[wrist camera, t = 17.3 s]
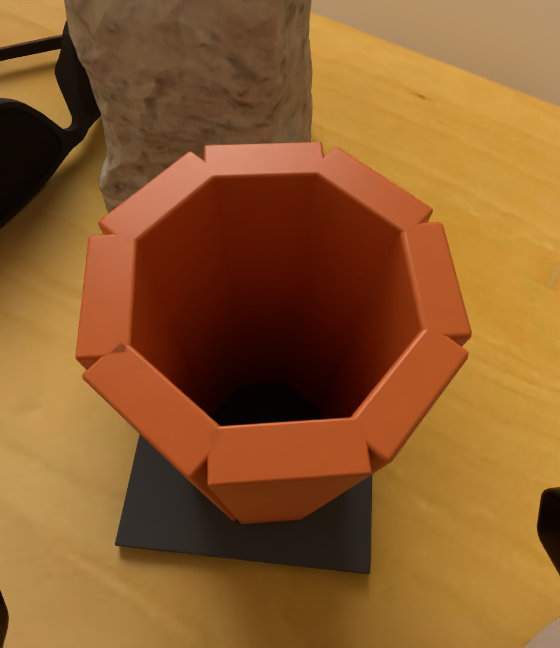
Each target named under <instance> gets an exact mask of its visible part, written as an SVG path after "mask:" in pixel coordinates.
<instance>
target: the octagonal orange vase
mask: <svg viewBox="0 0 560 648" xmlns="http://www.w3.org/2000/svg"><path fill="white" fill-rule="evenodd" d="M432 212H433V209H432V208H431V207H429V206H428V205H426V204H425V203H423V202H422V201H420V200H419V199H417V198H415V197H414V196H412V195H411V194H409V193H408V192H406V191H405V190H403V189H402V188H400V187H398V186H397V185H395V184H394V183H392V182H391V181H389V180H388V179H386V178H385V177H383V176H381V175H380V174H378V173H377V172H375V171H374V170H372V169H371V168H369V167H368V166H366V165H364V164H363V163H361V162H360V161H358V160H357V159H355V158H354V157H352V156H351V155H349V154H348V153H346V152H344V151H343V150H341V149H340V148H338V147H334V148H333V149H332V150H331V151H330V152H329V153H328V154H327V155H325V156H324V153H323V146H322V143H321V142H301V143H265V144H229V145H206V146H205V147H204V160H203V159H201V158H200V157H198V156H197V155H196V154H194V153H193V152H191V151H190V152H187V153H186V154H185V155H184V156H182V157H181V158H180V159H178V160H177V161H176V162H174V163H173V164H172V165H171V166H169V167H168V168H167V169H165V170H164V171H163V172H162V173H160V174H159V175H158V176H156V177H155V178H154V179H152V180H151V181H150V182H149V183H147V184H146V185H145V186H143V187H142V188H141V189H140V190H138V191H137V192H136V193H134V194H133V195H132V196H130V197H129V198H128V199H127V200H125V201H124V202H123V203H121V204H120V205H119V206H117V207H116V208H115V209H114V210H112V211H111V212H110V213H108V214H107V215H106V216H105V217H103V218H102V219H101V220H100V221H99V222H98V224H99V227H100V229H101V231H102V233H103V235H91V236H89V239H88V248H87V257H86V266H85V275H84V284H83V293H82V302H81V311H80V320H79V329H78V338H77V347H76V356H75V357H76V360H77V361H78V362H79V363H80V364H81V365H82V366H83V367H84V368H85V369H86V371H85V372H84V373H83V375H82V377H83V379H84V380H85V381H86V382H87V383H88V384H89V385H90V386H91V387H92V388H93V389H94V390H95V391H96V392H97V393H98V394H99V395H100V396H101V397H102V398H103V399H104V400H105V401H106V402H107V403H108V404H109V405H111V406H112V407H113V408H114V409H115V410H116V411H117V412H118V413H119V414H120V415H121V416H122V417H123V418H124V419H125V420H126V421H127V422H128V423H129V424H130V425H131V426H132V427H133V428H134V429H135V430H136V431H137V432H139V433H140V434H141V435H142V436H143V437H144V438H145V439H146V440H147V441H148V442H149V443H150V444H151V445H152V446H153V447H154V448H155V449H156V450H157V451H158V452H159V453H160V454H161V455H162V456H163V457H164V458H165V459H167V460H168V461H169V462H170V463H171V464H172V465H173V466H174V467H175V468H176V469H177V470H178V471H179V472H180V473H181V474H182V475H183V476H184V477H185V478H186V479H187V480H188V481H190V482H191V483H192V484H193V485H194V486H195V487H196V488H197V489H198V490H199V491H201V492H202V493H203V494H204V495H205V496H206V497H207V498H208V499H209V500H210V501H212V502H213V503H214V504H215V505H216V506H217V507H218V508H219V509H220V510H221V511H223V512H224V513H225V514H226V515H227V516H228V517H229V518H230V519H231V520H232V521H235V520H236V519H238V521H239V522H240V523H241V524H253V523H265V522H278V521H290V520H301V519H303V518H304V517H306V516H307V515H309V514H311V513H312V512H314V511H315V510H317V509H319V508H320V507H322V506H323V505H325V504H326V503H328V502H329V501H331V500H333V499H334V498H336V497H337V496H339V495H340V494H342V493H343V492H345V491H347V490H348V489H350V488H351V487H353V486H354V485H356V484H358V483H359V482H361V481H362V480H364V479H365V478H367V477H368V476H370V475H372V474H373V473H375V472H376V471H378V470H379V469H381V468H382V467H384V466H386V465H387V464H389V463H390V462H392V460H393V459H394V458H395V456H396V455H397V454H398V452H399V451H400V450H401V448H402V447H403V445H404V444H405V443H406V441H407V440H408V439H409V437H410V436H411V435H412V433H413V432H414V431H415V429H416V428H417V426H418V425H419V424H420V422H421V421H422V420H423V418H424V417H425V416H426V414H427V413H428V412H429V410H430V409H431V407H432V406H433V405H434V403H435V402H436V401H437V399H438V398H439V397H440V395H441V394H442V393H443V391H444V390H445V388H446V387H447V386H448V384H449V383H450V382H451V380H452V379H453V378H454V376H455V375H456V373H457V372H458V371H459V369H460V368H461V367H462V365H463V364H464V363H465V361H466V360H467V359H468V354H469V353H468V352H467V350H465V349H464V348H463V347H462V346H463V345H464V344H465V343H466V342H467V341H468V340H469V339H470V338H471V328H470V324H469V321H468V317H467V313H466V309H465V306H464V302H463V298H462V294H461V291H460V287H459V283H458V279H457V276H456V272H455V268H454V264H453V261H452V257H451V253H450V249H449V246H448V242H447V238H446V234H445V231H444V227H443V225H442V223H439V222H432V223H427V222H428V220H429V218H430V216H431V214H432ZM276 382H286V383H287V384H288V385H290V386H291V387H292V388H293V389H294V390H296V391H297V392H298V393H299V394H300V395H302V396H303V397H304V398H305V399H306V400H308V401H309V402H310V403H311V404H312V405H314V406H315V407H316V408H317V409H318V410H320V412H321V420H306V421H291V422H276V423H261V424H246V425H231V426H220V425H218V424H217V423H216V422H215V421H214V420H213V419H212V418H211V417H210V416H211V415H212V414H213V413H214V412H215V411H216V410H217V409H218V408H219V407H220V406H221V405H222V403H223V402H224V401H225V400H226V399H227V398H228V397H229V396H230V395H231V394H232V393H233V392H234V391H235V390H236V389H237V388H238V386H239V385H244V384H260V383H276Z"/></svg>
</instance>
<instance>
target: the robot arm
mask: <svg viewBox="0 0 560 648" xmlns="http://www.w3.org/2000/svg"><path fill="white" fill-rule="evenodd" d="M537 532H538V536H539V539H540V541H541V543H542V545H543V547H544V549H545V550H546V552H547V554H548V556H549V557H550V559H551V561H552V563H553V564H554V566H555V568H556V570H557V571H558V573H559V575H560V487H555V488H549V489H546V490H544V491H543V493H542V495H541V500H540V507H539V514H538V521H537ZM8 622H9V615H8V610H7V607H6V604H5V601H4V599H3V596H2V593H1V591H0V648H3V644H4V641H5V637H6V633H7V629H8Z"/></svg>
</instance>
